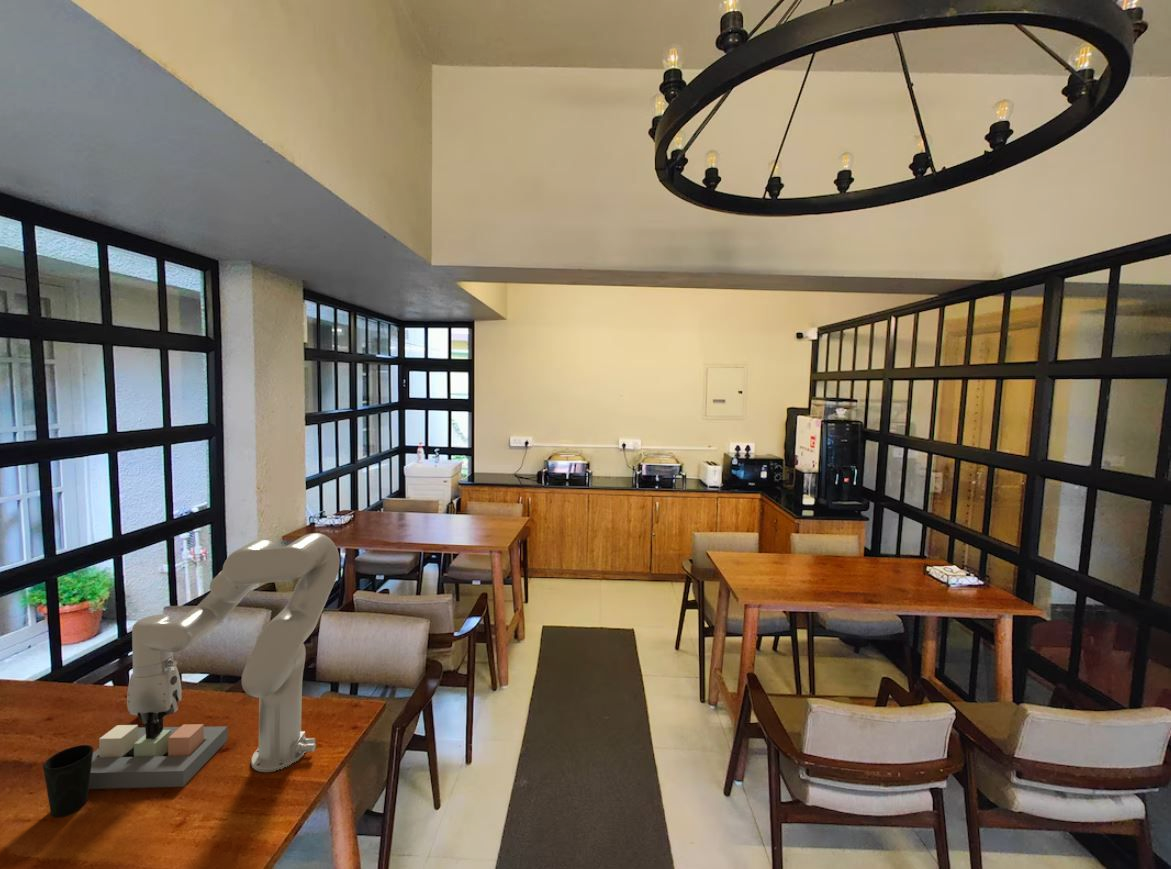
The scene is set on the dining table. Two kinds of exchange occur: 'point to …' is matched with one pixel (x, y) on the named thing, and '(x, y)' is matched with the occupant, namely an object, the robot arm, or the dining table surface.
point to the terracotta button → (186, 740)
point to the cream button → (118, 741)
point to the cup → (68, 779)
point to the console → (155, 764)
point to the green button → (152, 745)
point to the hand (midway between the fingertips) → (154, 735)
